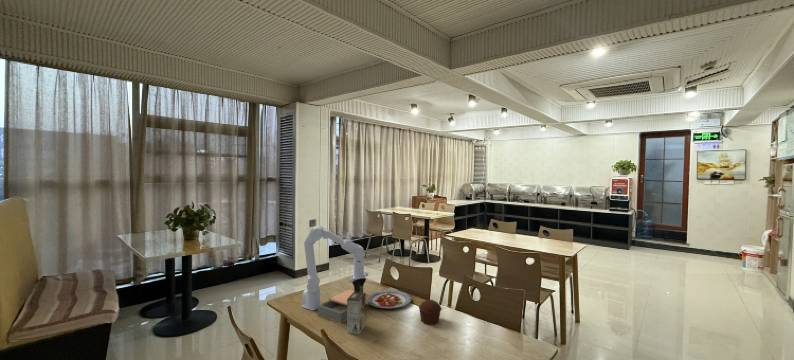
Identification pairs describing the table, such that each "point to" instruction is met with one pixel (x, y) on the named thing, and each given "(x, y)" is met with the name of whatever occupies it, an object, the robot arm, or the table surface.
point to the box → (333, 311)
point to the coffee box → (356, 312)
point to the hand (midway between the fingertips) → (358, 291)
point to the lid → (347, 296)
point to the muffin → (430, 312)
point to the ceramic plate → (389, 299)
